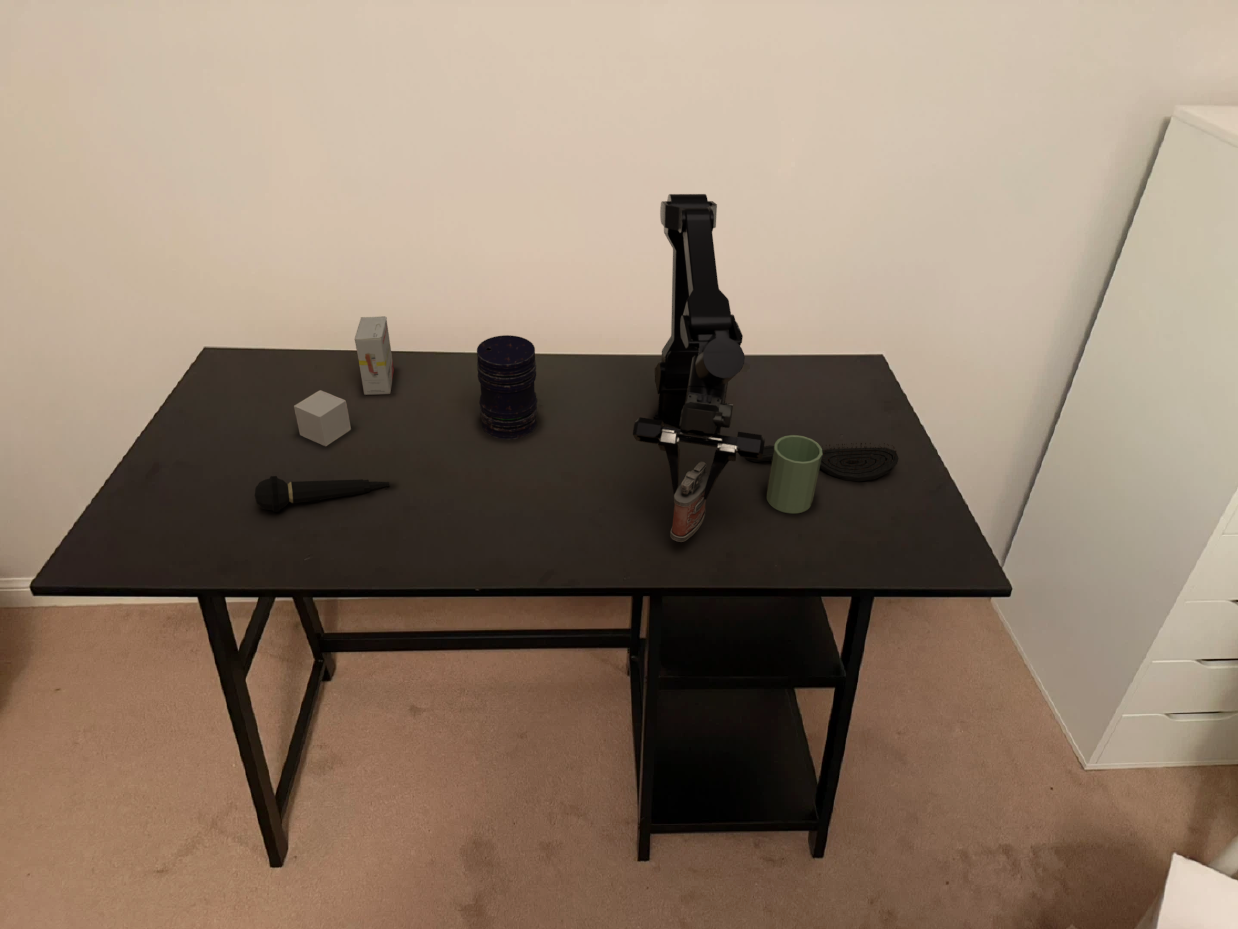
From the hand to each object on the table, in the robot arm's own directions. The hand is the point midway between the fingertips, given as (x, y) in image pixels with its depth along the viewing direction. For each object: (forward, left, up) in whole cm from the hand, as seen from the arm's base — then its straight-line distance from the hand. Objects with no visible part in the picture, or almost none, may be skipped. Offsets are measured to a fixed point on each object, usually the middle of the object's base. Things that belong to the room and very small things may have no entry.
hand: (689, 497), depth 133 cm
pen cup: (+9, +19, -10) cm, 23 cm away
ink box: (-69, +11, -10) cm, 70 cm away
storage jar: (-41, +13, -10) cm, 44 cm away
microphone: (-53, -20, -10) cm, 57 cm away
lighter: (0, +1, -7) cm, 7 cm away
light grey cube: (-66, -6, -10) cm, 67 cm away
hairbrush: (+10, +31, -10) cm, 34 cm away
